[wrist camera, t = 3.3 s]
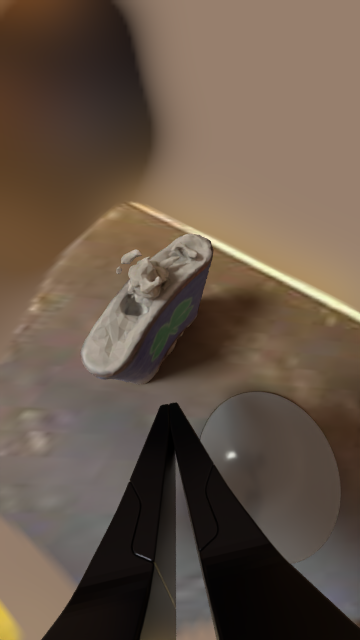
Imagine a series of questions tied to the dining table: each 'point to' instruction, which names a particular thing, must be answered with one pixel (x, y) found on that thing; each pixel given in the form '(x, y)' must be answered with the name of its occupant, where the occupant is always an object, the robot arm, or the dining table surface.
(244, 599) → the robot arm
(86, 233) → the dining table surface
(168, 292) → the flask
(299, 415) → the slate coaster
